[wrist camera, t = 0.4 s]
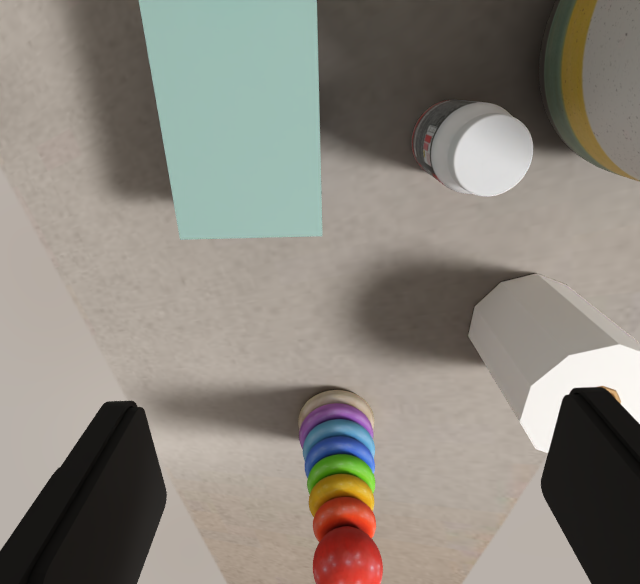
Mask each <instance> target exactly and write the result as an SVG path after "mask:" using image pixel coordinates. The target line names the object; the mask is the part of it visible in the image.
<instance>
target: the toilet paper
mask: <svg viewBox="0 0 640 584" xmlns="http://www.w3.org/2000/svg"><path fill="white" fill-rule="evenodd" d="M468 337H469V338H470V340H471V342H472V343H473V345H474V347H475V348H476V350H477V352H478V353H479V355H480V357H481V358H482V360H483V362H484V363H485V365H486V367H487V368H488V370H489V372H490V373H491V375H492V377H493V378H494V380H495V382H496V383H497V385H498V387H499V388H500V390H501V392H502V393H503V395H504V397H505V398H506V400H507V402H508V403H509V405H510V407H511V408H512V410H513V412H514V413H515V415H516V417H517V418H518V420H519V422H520V423H521V425H522V427H523V428H524V430H525V432H526V433H527V435H528V437H529V438H530V440H531V442H532V443H533V445H534V447H535V448H536V449H537V450H540V451H543V452H547V453H548V452H549V448H550V444H551V440H552V437H553V433H554V429H555V425H556V422H557V418H558V414H559V410H560V406H561V403H562V399H563V397H564V396H565V395H569V393H570V391H571V390H572V389H573V388H582V387H603V388H605V389H606V390H608V391H609V392H610V393H611V394H612V395H613V396H614V398H615V399H616V400H617V401H618V402H619V403H620V404H621V405H622V406H623V407H624V408H625V409H626V410H627V411H628V412H629V413H630V414H631V415H632V416H633V417H634V419H635V420H636V421H637V422H638V423H639V424H640V343H639V342H638V341H637V340H636V339H634V338H633V337H632V336H631V335H629V334H628V333H627V332H625V331H624V330H623V329H622V328H620V327H619V326H618V325H617V324H615V323H614V322H613V321H612V320H610V319H609V318H608V317H607V316H605V315H604V314H603V313H602V312H600V311H599V310H598V309H597V308H595V307H594V306H593V305H592V304H590V303H589V302H588V301H587V300H585V299H584V298H583V297H582V296H580V295H579V294H578V293H577V292H575V291H574V290H573V289H572V288H570V287H569V286H568V285H566V284H564V283H561V282H558V281H556V280H553V279H550V278H547V277H545V276H542V275H539V274H537V273H536V274H532V275H528V276H524V277H520V278H516V279H512V280H508V281H504V282H500V283H499V284H498V285H497V286H496V287H495V288H494V289H493V290H492V291H491V292H490V293H489V294H488V295H487V296H485V297H484V298H483V299H482V300H481V301H480V302H479V303H478V304H477V305H476V306H475V307H474V312H473V316H472V321H471V325H470V330H469V334H468Z"/></svg>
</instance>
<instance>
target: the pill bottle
mask: <svg viewBox="0 0 640 584" xmlns="http://www.w3.org/2000/svg"><path fill="white" fill-rule="evenodd" d="M412 151H413V155H414V157H415V159H416V161H417V163H418V164H419V165H420V167H421V168H422V169H424V170H425V171H426V172H427V173H429V174H430V175H432V176H433V177H434V178H435V179H437V180H438V181H439V182H441V183H442V184H443V185H445V186H446V187H448V188H450V189H451V190H454V191H456V192H459V193H465V194H474V195H478V196H486V197H487V196H495V195H499V194H502V193H504V192H506V191H508V190H510V189H511V188H512V187H514V186H515V185H516V184H517V183H518V182H519V181H520V180H521V179H522V178H523V177H524V175H525V174H526V172H527V170H528V168H529V166H530V164H531V160H532V156H533V141H532V137H531V135H530V132H529V131H528V129H527V127H526V126H525V125H524V124H523V123H522V122H521V121H520V120H518V119H517V118H515V117H513V116H512V115H511V114H510V113H509V112H508V111H506V110H505V109H504V108H502V107H500V106H498V105H495V104H492V103H487V102H474V101H464V100H445V101H442V102H439V103H436V104H434V105H433V106H431V107H430V108H429V109H427V110H426V111H425V112H424V113H423V114H422V115H421V117H420V118H419V120H418V121H417V123H416V125H415V127H414V130H413V134H412Z"/></svg>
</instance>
